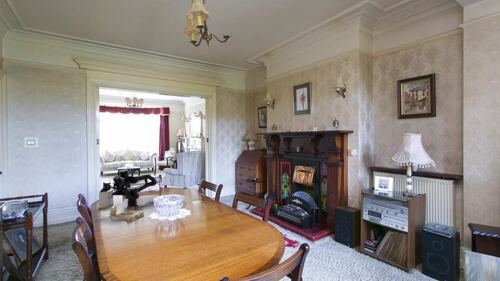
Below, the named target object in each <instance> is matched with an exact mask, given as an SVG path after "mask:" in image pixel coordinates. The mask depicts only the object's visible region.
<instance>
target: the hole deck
mask: <svg viewBox="0 0 500 281" xmlns="http://www.w3.org/2000/svg"><path fill="white" fill-rule="evenodd" d="M144 216H145V211H140V210H139V211H138V210H124V211H122V212H121V213H119V214H117V215H114V216H112V217H111V218H110V219H111V220H114V221H115V220H116V221H125V222H126V223H130V222H133V221H134V220H137V219H139V218H141V217H144Z"/></svg>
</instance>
